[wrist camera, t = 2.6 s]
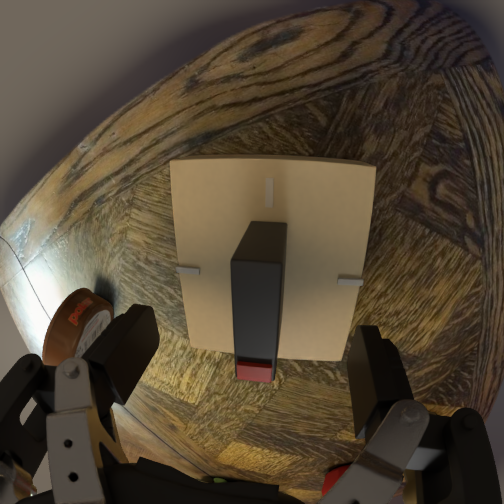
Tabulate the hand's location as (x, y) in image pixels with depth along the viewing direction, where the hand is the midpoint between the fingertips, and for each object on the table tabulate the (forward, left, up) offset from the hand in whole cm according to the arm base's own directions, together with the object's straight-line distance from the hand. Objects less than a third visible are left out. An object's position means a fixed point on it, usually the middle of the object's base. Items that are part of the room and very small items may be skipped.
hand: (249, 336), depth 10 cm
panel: (0, 0, -8) cm, 8 cm away
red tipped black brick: (0, 0, -5) cm, 5 cm away
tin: (+10, -16, -8) cm, 20 cm away
